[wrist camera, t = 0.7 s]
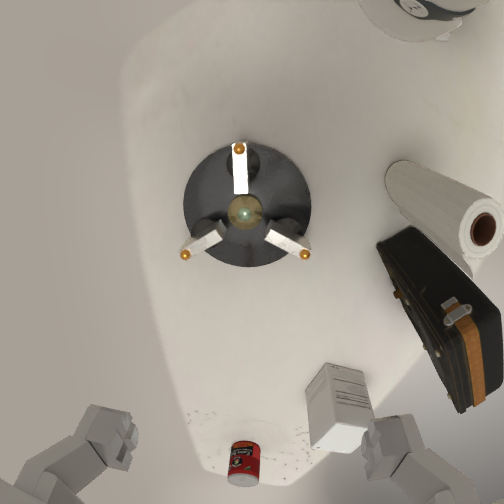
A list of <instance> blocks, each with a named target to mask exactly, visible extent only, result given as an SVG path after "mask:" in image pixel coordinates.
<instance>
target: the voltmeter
mask: <svg viewBox="0 0 504 504" xmlns="http://www.w3.org/2000/svg"><path fill="white" fill-rule="evenodd" d="M377 246H378V247H376V248H377V250H378V252H379V254H380V256H381V258H382V260H383V263H384V265H385V267H386V269H387V271H388V273H389V275H390V278H391V280H392V282H393V286H394V287H395V289H396V291H394V292H393V294H394V296H395V298H396V299H397V298H400V300H401V303H402V305H403V308H404V310H405V312H406V313H407V315H408V317H409V319H410V320H411V322H412V324H413V326H414V328H415V329H416V331H417V333H418V335H419V337H420V338H421V340H422V342H423V348H424V350H427V351H428V353H429V356H430V358H431V360H432V362H433V364H434V366H435V369H436V371H437V373H438V375H439V377H440V379H441V381H442V382H443V384H444V386H445V387H446V389H447V391H448V394H447V396H448V398H449V399H451V400H452V402H453V404H454V406H455V408H456V410H457V412H458V413H460V414H462V413H464V412H466V408H468V407H470V406H471V405H473V407H476V406H477V405H479V404H480V403H481V402H483V401H485V397H486V396H487V395H488V394H490V393H492V392H493V391H495V390H496V389H498V388H499V387H500V386H501V384H502V382H503V337H502V324H501V314H500V311H499V309H498V308H497V307H496V306H495V305H494V304H493V303H492V302H491V301H490V300H489V299H488V297H487V296H486V295H485V294H484V293H483V292H482V291H481V290H480V289H479V288H478V287H477V286H476V285H475V284H474V283H473V282H472V281H471V279H470V278H469V277H468V276H467V275H466V274H465V273H464V272H463V271H462V270H461V269H460V268H459V267H458V266H457V265H456V264H455V263H454V262H452V261H451V260H450V259H449V258H448V257H447V256H446V255H445V254H444V253H443V252H442V251H441V250H440V249H439V248H438V247H437V246H436V245H435V244H433V243H432V242H431V241H430V240H429V239H428V238H427V237H426V236H425V235H424V234H423V233H421V232H420V231H419V230H418V229H416V228H414V227H410V228H408V229H407V230H405V231H403V232H402V233H400V234H398V235H397V236H395V237H393V238H392V239H390V240H388V241H386V242H385V243H383V244H382V242H381V243H379V244H377Z"/></svg>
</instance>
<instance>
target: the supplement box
mask: <svg viewBox="0 0 504 504" xmlns="http://www.w3.org/2000/svg"><path fill="white" fill-rule="evenodd" d="M306 400H307V411H308V421H309V433H310V444H311V449H317V450H325V451H333V452H340V453H351V452H352V451H354V450H355V449H356V448H357V447H358V446H359V445H361V441H362V436H363V434H364V432H365V431H367V430H368V428H367V424H368V422H369V420H371V419H375V417H374V413H373V409H372V405H371V402H370V398H369V394H368V391H367V387H366V384H365V380H364V377H363V373H362V372H360V371H356V370H352V369H348V368H344V367H340V366H336V365H332V364H329V363H326V364H325V365H324V366H323V368H322V369H321V370H320V372H319V373H318V374H317V376H316V377H315V378H314V380H313V381H312V382H311V384H310V385H309V386H308V388H307V389H306Z"/></svg>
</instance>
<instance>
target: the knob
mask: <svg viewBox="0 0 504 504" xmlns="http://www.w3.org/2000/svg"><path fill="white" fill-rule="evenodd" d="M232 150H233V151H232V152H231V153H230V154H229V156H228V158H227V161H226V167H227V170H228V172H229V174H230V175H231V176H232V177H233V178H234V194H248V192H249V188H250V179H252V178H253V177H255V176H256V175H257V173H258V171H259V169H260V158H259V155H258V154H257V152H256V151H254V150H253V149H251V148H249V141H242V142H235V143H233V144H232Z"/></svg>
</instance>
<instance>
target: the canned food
mask: <svg viewBox="0 0 504 504" xmlns="http://www.w3.org/2000/svg"><path fill="white" fill-rule="evenodd" d="M260 452H261V450H260V447H259V445H258V444H256V443H254V442H251V441H238V442H235V443H234V444H233V445H232V447H231V455H230V462H229V470H228V482H229V483H231V484H232V485H235V486H239V487H252V486H255V485H257V484H258V482H259V471H260Z"/></svg>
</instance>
